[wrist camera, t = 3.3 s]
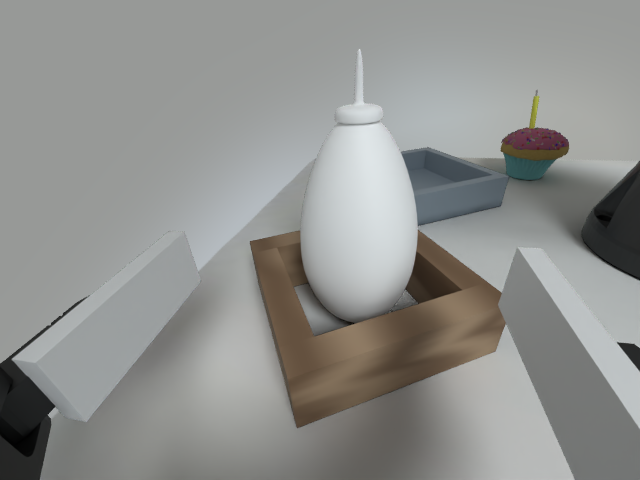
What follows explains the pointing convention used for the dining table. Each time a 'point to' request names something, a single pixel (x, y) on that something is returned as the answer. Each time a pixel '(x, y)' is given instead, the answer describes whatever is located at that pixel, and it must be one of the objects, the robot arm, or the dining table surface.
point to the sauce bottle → (359, 215)
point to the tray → (451, 185)
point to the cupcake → (532, 149)
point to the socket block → (375, 330)
